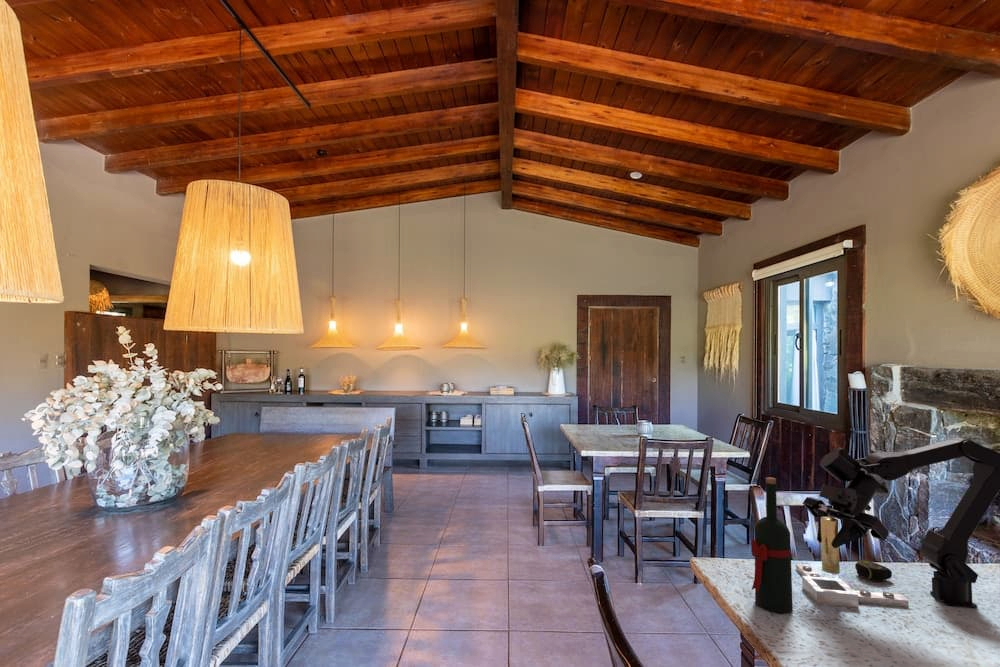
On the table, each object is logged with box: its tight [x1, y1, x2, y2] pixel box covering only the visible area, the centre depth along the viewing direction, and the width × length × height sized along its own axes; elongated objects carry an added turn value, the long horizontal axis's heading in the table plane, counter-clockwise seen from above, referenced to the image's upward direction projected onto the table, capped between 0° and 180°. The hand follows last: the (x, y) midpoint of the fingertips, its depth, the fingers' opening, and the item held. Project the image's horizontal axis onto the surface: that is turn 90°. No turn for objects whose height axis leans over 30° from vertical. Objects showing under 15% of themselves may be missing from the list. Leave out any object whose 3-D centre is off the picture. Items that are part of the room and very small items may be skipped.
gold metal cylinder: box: [820, 517, 841, 575], centre depth 123 cm, size 4×4×12 cm
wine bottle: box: [750, 476, 794, 615], centre depth 119 cm, size 8×10×30 cm
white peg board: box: [795, 563, 910, 609], centre depth 128 cm, size 21×21×3 cm
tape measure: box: [854, 559, 893, 582], centre depth 134 cm, size 7×7×4 cm
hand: (825, 544), depth 122 cm, fingers closed on gold metal cylinder, 4 cm apart
